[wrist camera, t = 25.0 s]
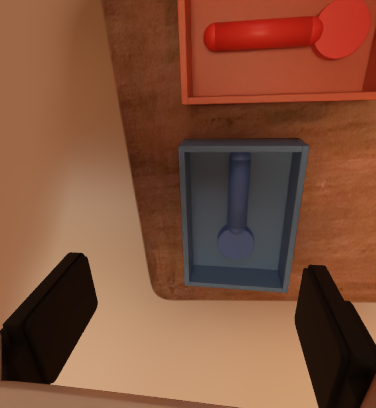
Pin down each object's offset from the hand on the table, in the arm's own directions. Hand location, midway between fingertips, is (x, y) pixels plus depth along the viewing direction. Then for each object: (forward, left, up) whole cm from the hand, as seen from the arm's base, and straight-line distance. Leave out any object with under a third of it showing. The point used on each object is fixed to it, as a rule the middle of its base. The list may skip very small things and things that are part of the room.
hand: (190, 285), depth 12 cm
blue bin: (+3, -6, -21) cm, 22 cm away
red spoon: (+6, +12, -20) cm, 24 cm away
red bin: (+6, +12, -21) cm, 24 cm away
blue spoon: (+3, -5, -20) cm, 21 cm away
